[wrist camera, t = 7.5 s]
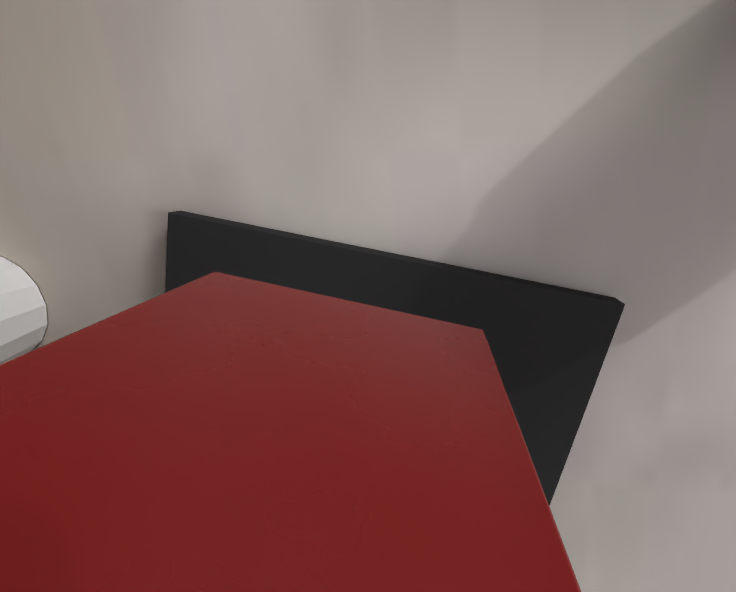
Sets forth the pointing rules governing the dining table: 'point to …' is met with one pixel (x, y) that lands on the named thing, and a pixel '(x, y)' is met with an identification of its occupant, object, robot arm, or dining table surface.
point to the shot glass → (19, 312)
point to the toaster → (268, 453)
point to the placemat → (433, 313)
